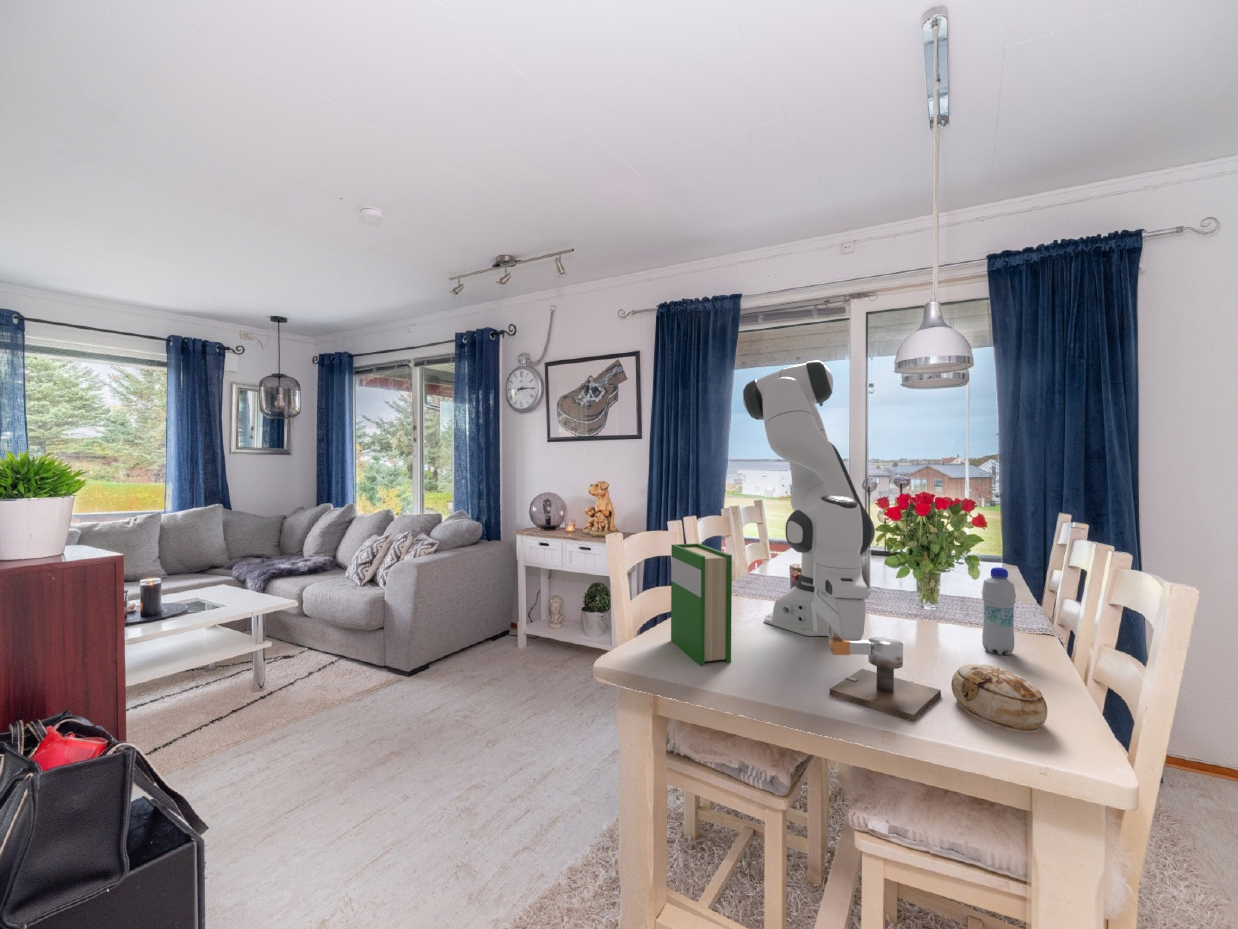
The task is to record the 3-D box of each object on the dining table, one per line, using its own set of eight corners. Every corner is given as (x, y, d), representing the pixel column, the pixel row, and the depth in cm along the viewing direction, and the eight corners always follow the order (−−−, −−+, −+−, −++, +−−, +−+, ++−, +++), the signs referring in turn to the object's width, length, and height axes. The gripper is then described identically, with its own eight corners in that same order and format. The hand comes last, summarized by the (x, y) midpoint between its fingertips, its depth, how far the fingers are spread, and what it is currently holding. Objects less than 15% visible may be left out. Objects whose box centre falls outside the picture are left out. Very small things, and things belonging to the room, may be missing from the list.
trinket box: (961, 691, 110) (961, 651, 110) (1056, 717, 99) (1057, 673, 99) (937, 711, 101) (938, 668, 101) (1039, 743, 90) (1040, 694, 90)
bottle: (1011, 649, 134) (1012, 566, 134) (1018, 658, 128) (1019, 571, 128) (978, 645, 137) (979, 563, 136) (983, 654, 131) (984, 568, 130)
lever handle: (895, 658, 110) (895, 636, 110) (908, 669, 104) (908, 647, 104) (827, 655, 111) (827, 634, 111) (836, 666, 105) (836, 644, 105)
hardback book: (731, 662, 124) (731, 555, 124) (700, 666, 122) (701, 556, 122) (698, 638, 141) (698, 543, 141) (670, 640, 139) (671, 544, 139)
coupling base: (829, 695, 108) (829, 664, 107) (861, 674, 118) (862, 646, 118) (913, 721, 97) (913, 687, 97) (940, 696, 107) (940, 665, 107)
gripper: (807, 566, 121) (805, 630, 121) (836, 591, 100) (834, 667, 101) (837, 567, 120) (835, 631, 121) (872, 592, 100) (870, 668, 100)
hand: (834, 648), depth 111 cm, fingers closed
